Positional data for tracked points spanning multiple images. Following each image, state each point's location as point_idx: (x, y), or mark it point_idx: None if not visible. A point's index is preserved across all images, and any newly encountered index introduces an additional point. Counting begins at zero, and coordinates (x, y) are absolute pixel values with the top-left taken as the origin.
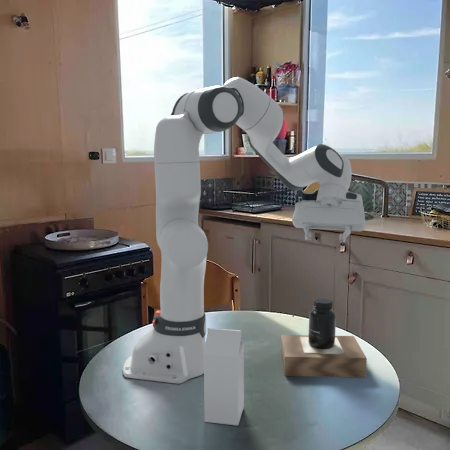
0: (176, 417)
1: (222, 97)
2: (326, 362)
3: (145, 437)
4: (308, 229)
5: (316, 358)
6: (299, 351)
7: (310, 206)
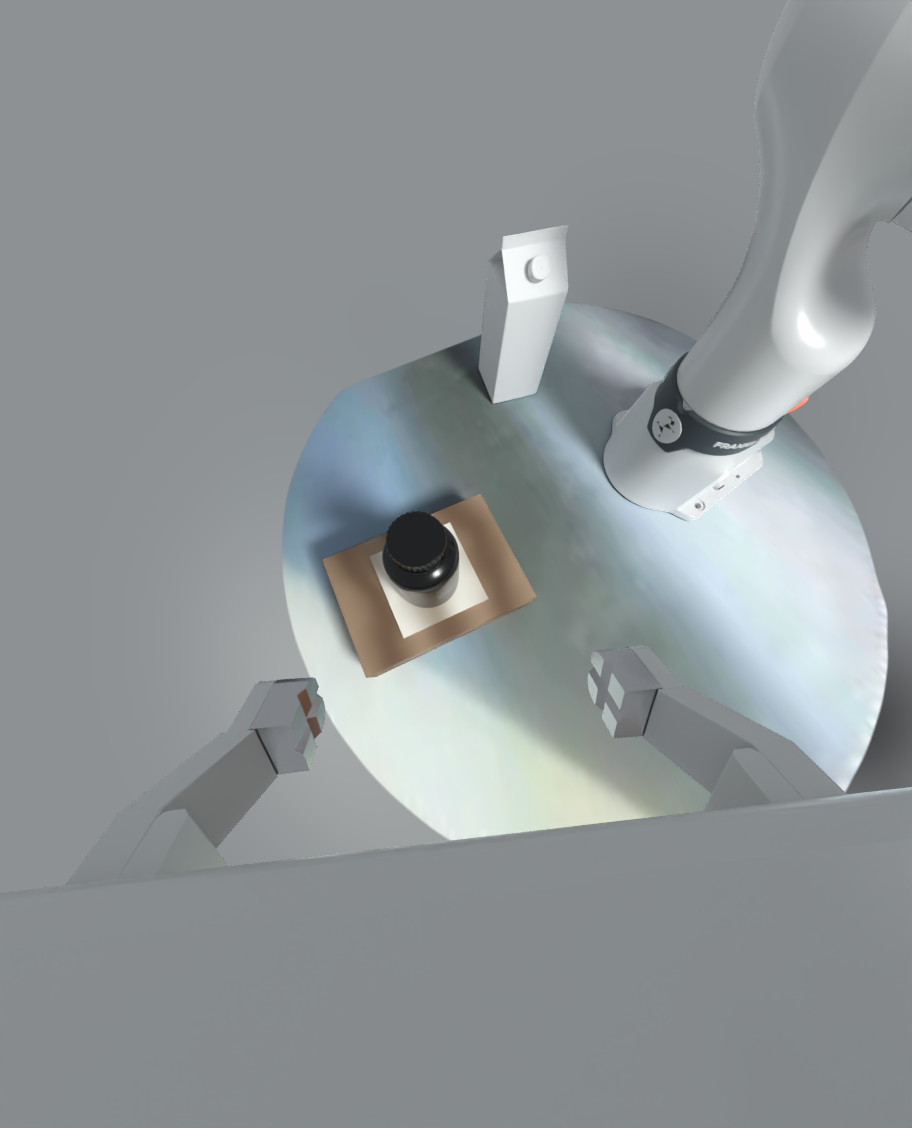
0: (558, 355)
1: None
2: None
3: (562, 315)
4: (710, 802)
5: None
6: (462, 528)
7: None
